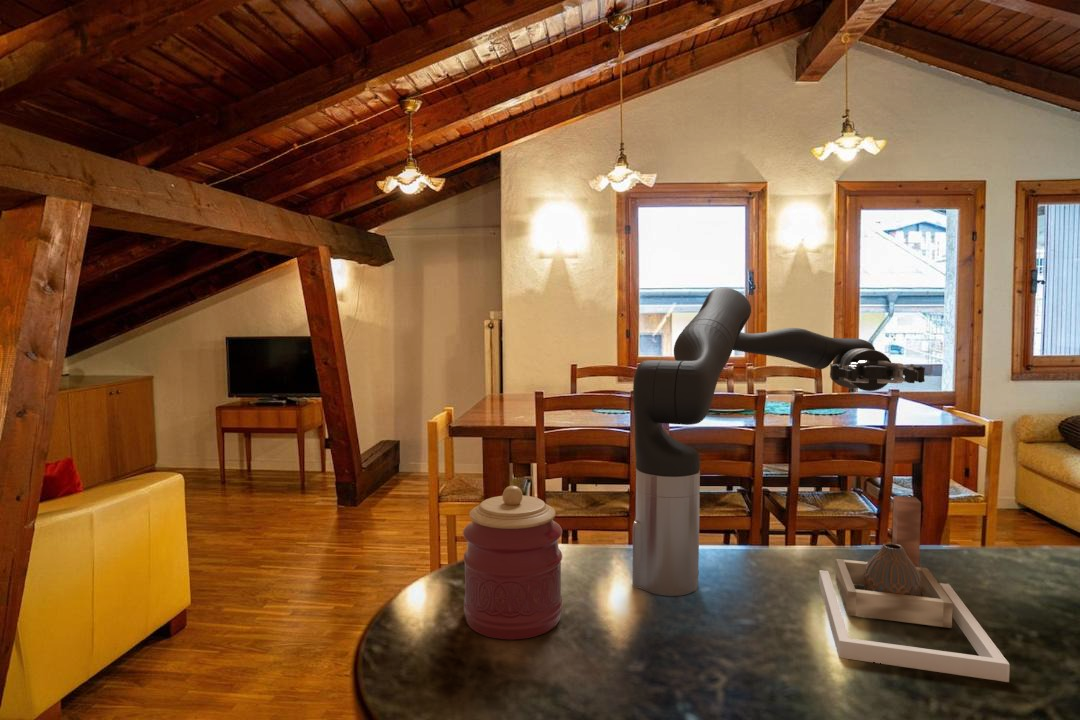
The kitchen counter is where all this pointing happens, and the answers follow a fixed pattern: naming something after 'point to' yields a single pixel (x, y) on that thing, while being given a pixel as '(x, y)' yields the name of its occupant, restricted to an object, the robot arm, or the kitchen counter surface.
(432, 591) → the kitchen counter surface
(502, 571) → the canister
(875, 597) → the square wooden tray
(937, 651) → the rail lane
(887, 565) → the vase
